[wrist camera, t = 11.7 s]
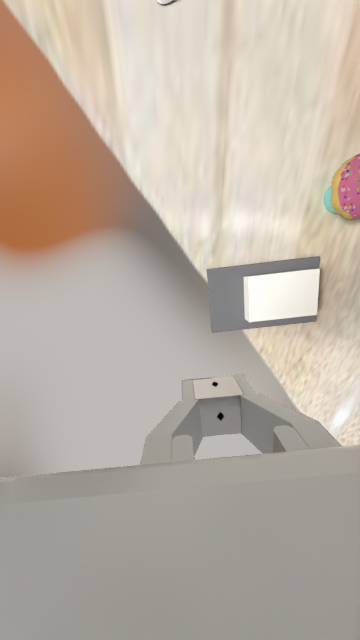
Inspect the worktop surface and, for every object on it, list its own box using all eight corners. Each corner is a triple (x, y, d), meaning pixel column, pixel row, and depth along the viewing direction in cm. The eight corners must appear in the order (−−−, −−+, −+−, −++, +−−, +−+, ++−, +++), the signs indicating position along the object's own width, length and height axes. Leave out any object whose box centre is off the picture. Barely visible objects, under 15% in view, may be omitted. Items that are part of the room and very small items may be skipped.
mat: (211, 331, 37) (212, 332, 36) (206, 269, 34) (207, 269, 33) (313, 320, 36) (315, 321, 36) (317, 256, 33) (319, 256, 33)
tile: (249, 322, 33) (317, 314, 33) (248, 276, 31) (319, 268, 31) (244, 319, 35) (307, 312, 35) (243, 276, 34) (309, 268, 33)
